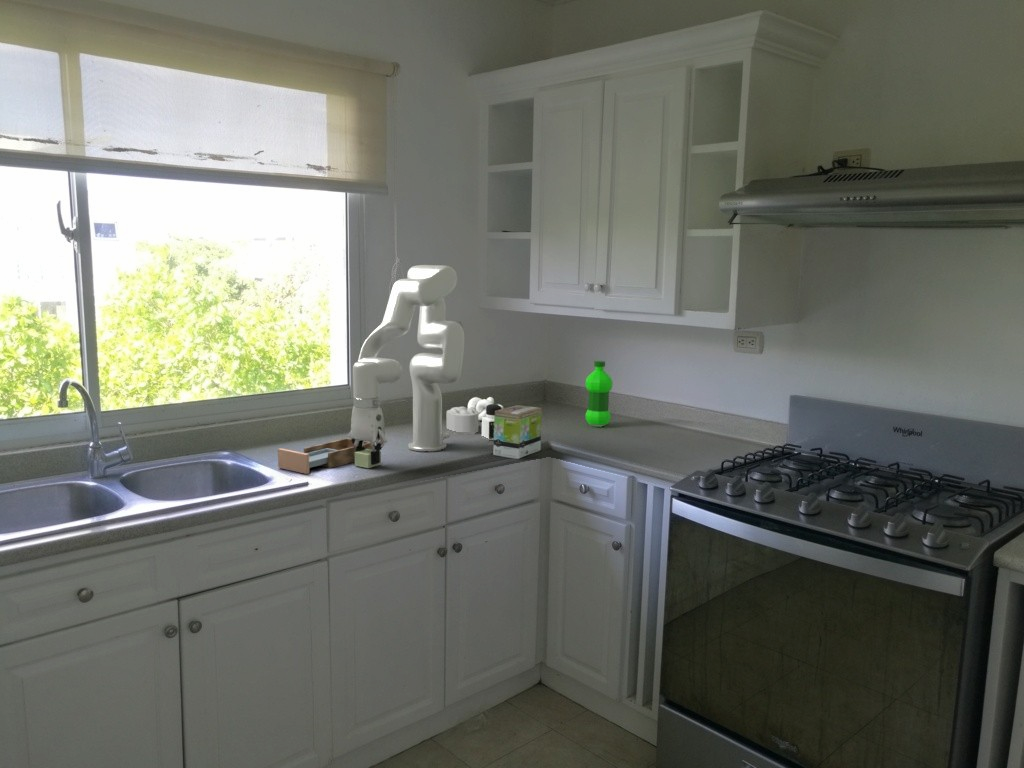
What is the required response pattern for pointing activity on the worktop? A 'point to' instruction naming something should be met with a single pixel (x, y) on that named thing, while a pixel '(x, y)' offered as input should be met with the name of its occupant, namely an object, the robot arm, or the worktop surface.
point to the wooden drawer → (302, 459)
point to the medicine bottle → (489, 420)
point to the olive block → (365, 458)
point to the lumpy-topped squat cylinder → (462, 419)
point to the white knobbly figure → (480, 405)
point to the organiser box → (342, 455)
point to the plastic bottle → (598, 395)
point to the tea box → (517, 431)
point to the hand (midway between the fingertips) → (367, 461)
